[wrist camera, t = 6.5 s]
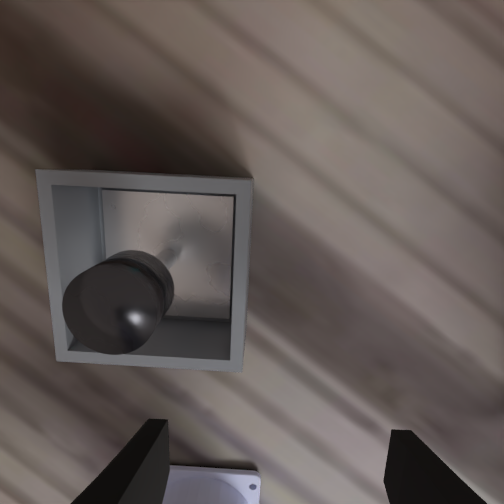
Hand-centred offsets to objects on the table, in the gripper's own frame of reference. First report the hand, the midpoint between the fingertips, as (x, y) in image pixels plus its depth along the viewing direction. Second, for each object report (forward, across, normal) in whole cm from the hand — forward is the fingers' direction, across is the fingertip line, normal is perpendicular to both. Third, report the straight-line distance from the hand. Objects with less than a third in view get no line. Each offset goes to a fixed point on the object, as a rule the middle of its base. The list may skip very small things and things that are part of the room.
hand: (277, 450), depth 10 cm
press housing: (+10, +6, -4) cm, 12 cm away
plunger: (+9, +6, -4) cm, 11 cm away
